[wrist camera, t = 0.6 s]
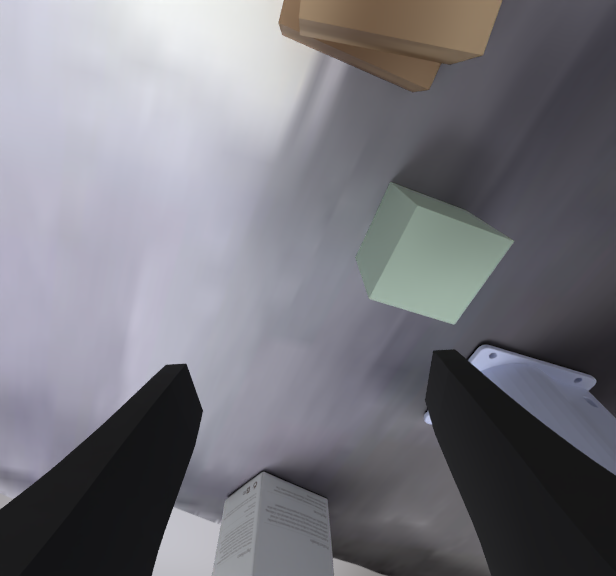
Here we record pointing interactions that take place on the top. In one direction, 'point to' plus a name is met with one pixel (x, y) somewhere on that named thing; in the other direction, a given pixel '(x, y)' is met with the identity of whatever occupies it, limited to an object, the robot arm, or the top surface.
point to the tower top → (404, 26)
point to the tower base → (363, 55)
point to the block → (427, 254)
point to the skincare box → (274, 531)
